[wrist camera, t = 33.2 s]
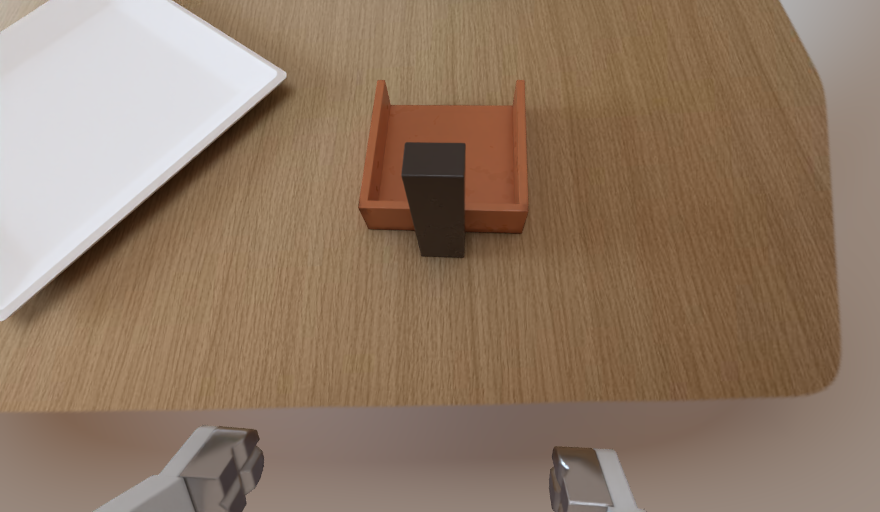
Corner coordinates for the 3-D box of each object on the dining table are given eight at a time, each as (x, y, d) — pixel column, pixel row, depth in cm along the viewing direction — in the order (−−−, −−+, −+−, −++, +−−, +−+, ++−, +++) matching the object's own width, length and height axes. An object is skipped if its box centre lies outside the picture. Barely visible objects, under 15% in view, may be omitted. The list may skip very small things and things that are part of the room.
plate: (297, 91, 35) (288, 71, 33) (26, 331, 28) (-6, 324, 26) (124, -21, 42) (108, -42, 40) (-126, 147, 35) (-161, 131, 33)
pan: (522, 259, 28) (551, 178, 19) (365, 254, 29) (317, 174, 19) (519, 110, 33) (540, -12, 24) (384, 109, 34) (354, -9, 24)
